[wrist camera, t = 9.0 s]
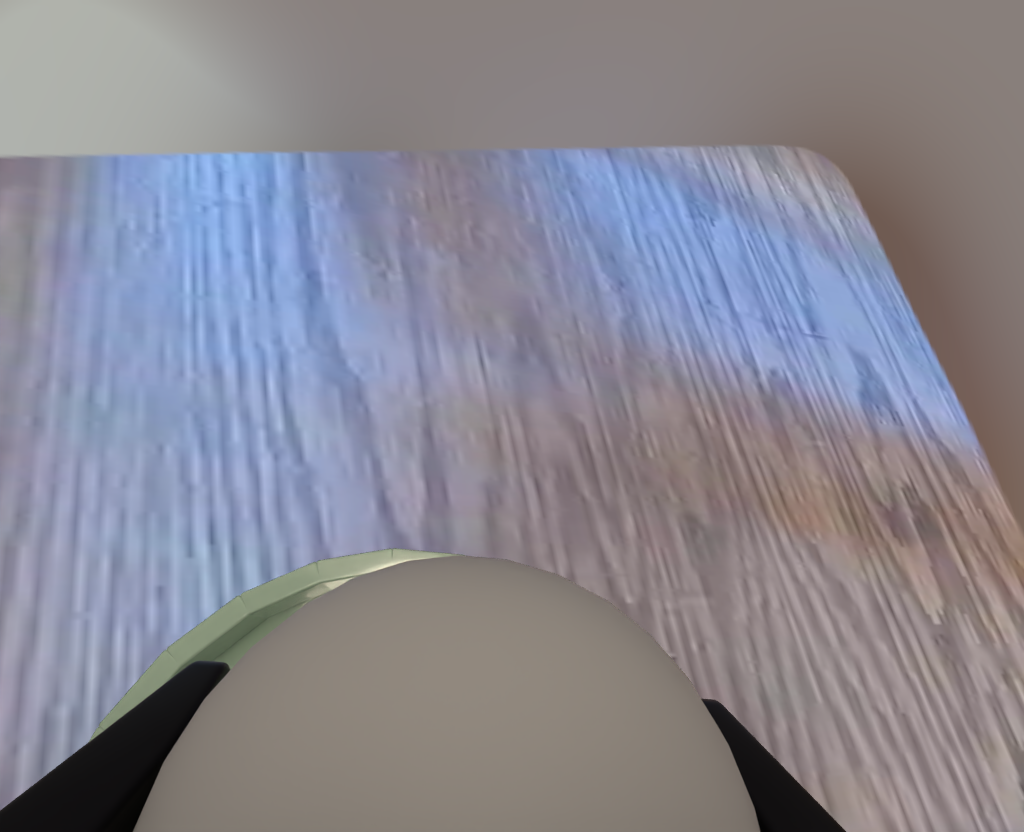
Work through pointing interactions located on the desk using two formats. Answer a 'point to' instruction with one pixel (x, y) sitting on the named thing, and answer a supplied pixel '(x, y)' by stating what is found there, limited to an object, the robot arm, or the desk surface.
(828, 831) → the robot arm
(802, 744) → the desk surface
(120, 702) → the bowl
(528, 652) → the lightbulb
